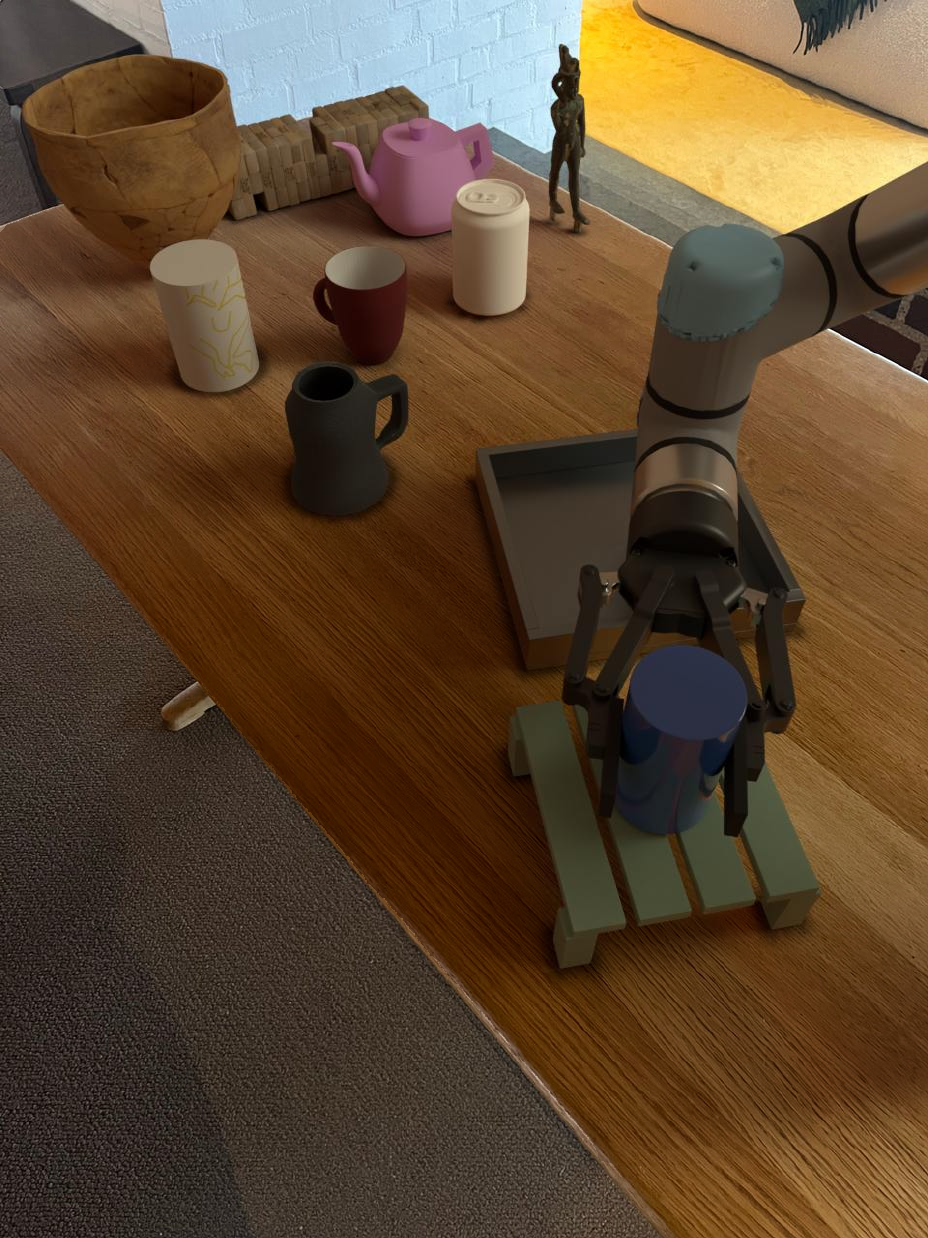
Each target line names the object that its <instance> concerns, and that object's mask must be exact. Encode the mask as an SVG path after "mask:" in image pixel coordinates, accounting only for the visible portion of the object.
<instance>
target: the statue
mask: <svg viewBox="0 0 928 1238" xmlns="http://www.w3.org/2000/svg"><path fill="white" fill-rule="evenodd" d="M558 58H559V67H558V69H557V72H556V73H555V74H554V75H553V76H552V79H551V82H550V83H551V89H552V91H553V93H554V94H555V96H556V97H557V98H556V99H555V100H554V101H553V102H552V104H551V105H550V108H549V110H550V113H549V114H550V118H551V123H552V125H553V128H554V130H555V133H554V136H553V137H552V138H553V139H552V143H551V155H550V170H549V173H548V197H549V198H548V199H549V200H548V206H549V218H550V221H552V222H556V221H557V218H558V215H563V214H565V212H566V211H565V209H564V208H563V207H562V205H561V204H560V203H559V201H558V190H559V189H558V188H559V184H560V183H559V182H560V171H561V169H562V166H563V165H564V162H566V166H567V172H568V181H567V182H568V183H567V185H568V187H567V188H568V193H569V199H570V204H571V205H570V206H571V210H572V218H573V232H574V233H576V234H580V233H581V232H582V226H583V225H585V226H590V225H591V224H592V223H591V220H590V219H589V218H588V217H586V216H585V215H584V213H583V212H582V210H581V206H580V180H579V179H580V174H579V173H580V167H581V166H580V165H581V159H584V157H585V156H586V155H587V152H586V151H587V150H586V149H585V141H586V140H585V139H586V110H585V108H586V107H585V98H584V96H583V95H582V94H581V93H579V92H580V79H581V75H582V71H581V69H580V60H579V59H578V58H577V57H573V56H572V55H571V53H570V48H569V47H568V46H567V45H565V44H563V43H559V45H558ZM560 83H561V84H560Z"/></svg>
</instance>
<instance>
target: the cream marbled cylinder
mask: <svg viewBox="0 0 928 1238" xmlns="http://www.w3.org/2000/svg"><path fill="white" fill-rule="evenodd" d="M150 274H151V277H152V278H151V279H152V281H153V285H154V288H155V291H156V295H157V298H158V302H159V305H160V309H161V312H162V315H163V319H164V323H165V326H166V330H167V333H168V337H169V341H170V343H171V347H172V350H173V354H174V358H175V361H176V364H177V367H178V368H177V369H178V371H179V374H180V378H181V380H182V381H183V383H184V384H185V385H186V386H188V387H189V388H191V389H194V390H196V391H200V392H204V393H222V392H227V391H232V390H235V389H238V388H240V387H241V386H244V385H245V384H247V383H249V382H250V381H251V380H252V379H253V378H255V376H256V375H257V373H258V371H259V368H260V361H259V360H260V359H259V355H258V351H257V345H256V341H255V336H254V331H253V326H252V321H251V317H250V314H249V313H250V312H249V307H248V303H247V297H246V294H245V288H244V284H243V278H242V273H241V269H240V264H239V259H238V255H237V252H236V251H235V249H234V248H232V246H231V245H229V244H226V243H225V242H222V241H218V240H215V239H208V240H206V239H197V240H188V241H183V242H179V243H176V244H173V245H171V246H168V247H166V248H165V249H163V250H161V251H160V252H159V253H157V254H156V255H155V256H154V258H153V259H152V261H151V263H150Z"/></svg>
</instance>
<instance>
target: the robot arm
mask: <svg viewBox="0 0 928 1238" xmlns="http://www.w3.org/2000/svg"><path fill="white" fill-rule="evenodd" d="M927 288H928V160H927V161H925V162H924V163H922V164H920V165H918V166H915V167H914V168H913V169H911V170H909V171H907V172H905V173H903V174H902V175H899V176H898V177H895V178H894V179H892V180H890V181H889V182H887V183H885V184H883V185H882V186H879V187H877V188H876V189H874V190H872V191H870V192H868V193H866V194H864V195H862V196H859V197H858V198H857V199H854V200H852V201H850V202H849V203H847V204H845V205H843V206H842V207H839V208H838V209H836V210H834V211H832V212H830V213H828V214H827V215H825V216H822V217H820V218H818V219H816V220H814V221H811V222H809V223H806V224H804V225H802V226H799V227H797V228H795V229H793V230H791V231H788V232H786V233H783V234H780V235H777V236H774V237H771V236H770V235H768V234H767V233H765V232H764V231H760V230H758V229H756V228H754V227H750V226H748V225H744V224H736V223H724V224H722V225H721V226H716V225H711V224H706V225H702V226H699V227H696V228H693V229H692V230H689V231H687V232H686V233H685V234H684V235H683V236H682V235H681V237H679V239H678V240H677V241H676V242H675V244H674V246H672V248H671V251H670V253H669V257H668V261H667V264H666V270H665V273H664V276H663V280H662V284H661V289H660V291H659V292H658V295H657V301H656V310H657V311H656V312H657V313H656V320H655V325H654V333H653V339H652V346H651V352H650V358H649V364H648V371H647V375H646V378H645V383H644V386H643V389H642V391H641V394H640V396H639V397H640V398H639V401H638V403H639V404H638V405H639V406H638V410H637V413H636V428H637V429H638V432H637V446H636V464H635V472H634V477H633V487H632V498H631V508H630V523H629V530H628V541H627V551H626V560H625V562H624V563H623V564H622V565H621V566H620V568H619V570H618V571H616V572H602V573H599V571H598V569H597V567H595V566H594V565H589V564H587V565H584V566H582V568H581V569H580V577H579V585H578V600H579V605H580V612H579V616H578V620H577V624H576V628H575V632H574V636H573V640H572V644H571V648H570V652H569V656H568V661H567V665H565V669H564V672H563V681H562V689H561V701H562V703H564V704H565V705H567V706H570V707H572V706H574V705H579V706H581V707H583V708H584V709H585V710H586V711H587V712H588V726H587V736H586V745H585V749H584V752H585V756H586V758H594V759H601V760H603V767H602V777H601V788H600V798H599V797H598V798H599V800H598V808H597V817H598V818H599V817H600V818H611V816H612V811H613V807H614V803H615V798H616V792H617V780H618V768H619V756H620V743H621V731H622V717H623V709H624V707H625V699H624V698H622V697H621V698H620V697H619V698H617V696H618V695H619V696H620V693H621V690H622V689H623V687H624V685H625V683H626V681H627V680H628V677H629V676H630V674H631V671H633V668H635V667H634V666H636V664H637V661H638V660H639V657H640V655H641V652H642V650H643V648H644V646H646V645H647V643H648V641H649V639H650V638H651V636H652V634H653V632H655V633H663V634H666V633H679V634H682V635H685V636H688V637H695V638H697V641H698V643H699V645H698V647H700V648H703V649H706V650H709V651H711V652H713V653H715V654H717V655H719V656H721V657H722V658H723V659H725V660H726V661H727V662H729V663H730V664H731V665H732V666H733V667H734V668H735V669H736V671H737V672H738V673H739V675H740V676H741V678H742V680H743V682H744V685H745V688H746V692H747V708H746V711H745V714H744V717H743V719H742V722H741V724H740V727H739V729H738V732H737V735H736V737H735V740H734V742H733V745H732V747H731V750H730V753H729V755H728V758H727V760H726V763H725V765H724V794H723V814H724V835H725V836H732V837H733V838H738V837H739V836H740V835H739V833H740V831H741V829H742V827H743V824H744V822H745V820H746V818H747V816H748V781H752V782H757V780H758V777H759V775H760V773H761V771H762V769H763V767H764V764H765V762H766V739H765V734H766V733H772V734H774V735H782V734H784V733H785V732H786V731H787V728H788V727H789V724H790V722H791V720H792V718H793V716H794V714H795V711H796V709H797V701H796V699H797V698H796V692H795V688H794V687H795V686H794V681H793V675H792V674H793V673H792V669H791V663H790V657H789V651H788V644H787V638H786V632H785V631H784V625H783V619H782V614H783V611H784V607H785V604H786V601H787V598H788V594H787V592H786V591H785V590H784V589H782V588H778V587H775V588H772V589H771V590H770V591H769V594H766V593H763V592H760V591H757V590H754V589H750V588H747V586H746V582H745V580H744V579H743V577H742V576H741V574H740V572H739V569H738V524H737V521H738V501H737V469H738V466H737V465H738V463H737V462H738V443H739V436H740V431H741V428H742V423H743V419H744V415H745V412H746V408H747V405H748V401H749V399H750V396H751V393H752V390H753V389H752V388H753V384H754V381H755V377H756V374H757V371H758V367H759V366H760V363H761V362H762V361H763V360H765V359H767V358H769V357H772V356H774V355H776V354H778V353H780V352H782V351H785V350H786V349H789V348H791V347H793V346H796V345H797V344H800V343H802V342H804V341H805V340H808V339H810V338H813V337H815V336H817V335H818V334H820V333H822V332H824V331H827V330H829V329H831V328H834V327H836V326H838V325H840V324H843V323H845V322H848V321H849V320H852V319H854V318H856V317H859V316H861V315H864V314H866V313H869V312H871V311H874V310H876V309H879V308H882V307H884V306H886V305H889V304H891V303H894V302H897V301H900V300H902V299H904V298H907V297H908V296H910V295H912V294H915V293H917V292H920V291H923V290H925V289H927ZM616 591H618V592H619V594H620V595H621V596H622V598H623V599H624V600H625V601H626V603H627V604H628V605H629V606H630V608H631V609H632V610H633V615H632V617H631V619H630V620H629V622H628V624H627V626H626V628H625V629H624V631H623V633H622V635H621V636H620V638H619V640H618V642H617V644H616V645H615V647H614V649H613V651H612V652H611V654H610V656H609V658H608V659H606V661H605V663H604V665H603V667H602V668H601V670H600V672H599V673H598V675H597V678H596V679H595V680H594V679H592V678H590V677H587V674H588V668H589V664H590V662H591V661H590V656H591V652H592V647H593V643H594V639H595V634H596V630H597V625H598V620H599V614H600V608H603V607H604V606H605V604H607V603H608V602H609V601H610V599H611V595H612V594H613V593H614V592H616ZM739 607H743V608H744V609H745V610H746V611H747V613H748V619H749V621H750V625H751V626H752V627H755V628H756V627H757V628H756V632H755V637H754V646H755V653H756V660H757V661H756V662H757V668H758V674H759V675H758V676H759V682H760V691H761V694H760V692H759V689H758V686H757V685H756V682H755V680H754V678H753V675H752V673H751V671H750V669H749V666H748V664H747V661H746V659H745V657H744V654H743V652H742V650H741V648H740V645H739V643H738V641H737V640H738V639H736V638H735V636H734V633H733V631H732V628H731V619H730V615H731V614H732V613H733V612H734V611H735V610H736V609H737V608H739Z"/></svg>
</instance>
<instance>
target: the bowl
mask: <svg viewBox="0 0 928 1238" xmlns="http://www.w3.org/2000/svg"><path fill="white" fill-rule="evenodd" d="M231 93H232V92H231V87H230V85H229V79H228V77H227V76H226V74H225V73H224V71H222V70H221V69H219V68H216V67H214V66H211V65H209V64H207V63H204V62H201V61H195V60H191V59H188V58H179V57H170V56H165V55H160V54H159V55H157V54H129V55H123V56H120V57H113V58H109V59H106V60H102V61H98V62H94V63H90V64H86V65H83V66H81V67H79V68H75V69H73V70H71V71H69V72H67V73H66V74H64V75H62V76H61V77H60V78H58V79H55V80H53V81H50V82H49V83H47V84H45V85H43V86H42V87H41V86H40V88H38V89H37V90H36V91H34V92H33V93H32V94H30V95H29V96H28V97H27V98H26V99H25V100H24V101H23V103H22V105H21V115H22V118H23V121H24V123H25V125H26V127H27V129H28V130H29V132H30V134H31V139H32V141H33V143H34V146H35V147H34V148H35V152H36V158H37V162H38V166H39V169H40V171H41V173H42V175H43V178H44V179H45V181H46V183H47V184H48V187H49V188H50V189H51V192H53V194H54V195H55V196H56V197H57V199H58V200H59V201H60V202H61V203H62V204H63V206H64V207H65V208H66V209H67V211H68V212H69V213H70V214H71V215H72V216H73V217H74V218H75V220H76V221H77V222H78V223H79V224H80V225H81V226H82V227H84V228H85V229H86V230H87V231H88V232H90V233H91V234H92V235H93V236H94V237H96V238H97V239H98V240H100V241H101V242H104V243H105V244H106V245H108V246H110V247H111V248H113V249H115V250H116V251H117V252H119V253H120V254H122V255H124V256H125V257H126V258H128V259H129V260H130V261H132V262H133V263H135V264H137V265H139V266H140V267H142V268H145V269H147V270H150V263H151V261H152V259H153V258H154V256H155V255H156V254H157V253H159V252H160V251H161V250H163V249H165V248H166V247H168V246H171V245H173V244H176V243H179V242H183V241H188V240H197V239H206V240H210V237H211V235H212V234H213V232H214V231H215V230H216V228H217V227H218V226H219V223H220V222H221V221H222V220H223V217H224V216H225V215H226V213H227V212H226V211H227V209H228V206H229V204H230V201H231V198H232V196H233V193H234V190H235V187H236V184H237V180H238V176H239V171H240V163H241V139H240V135H239V132H238V128H237V126H238V125H237V122H236V117H235V113H234V109H233V102H232V96H231Z"/></svg>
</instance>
